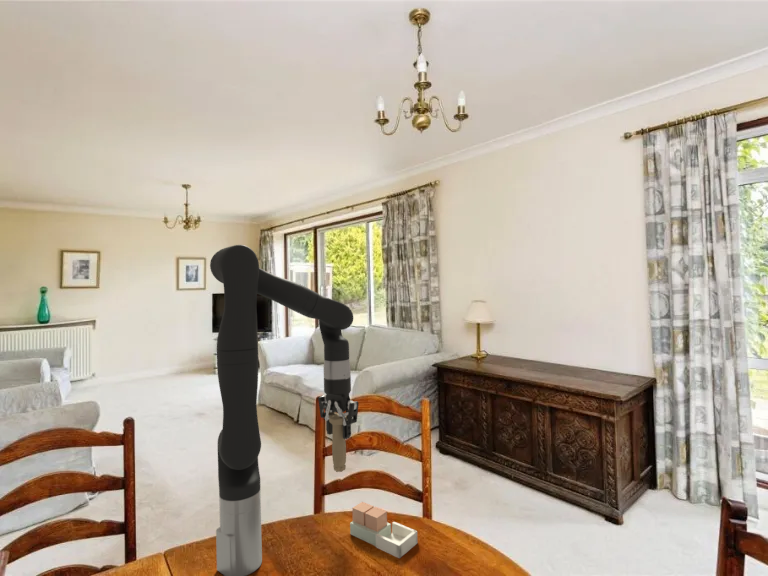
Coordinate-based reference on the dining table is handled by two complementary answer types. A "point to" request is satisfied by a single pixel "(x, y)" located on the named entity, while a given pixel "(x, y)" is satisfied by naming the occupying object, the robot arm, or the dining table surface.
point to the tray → (397, 540)
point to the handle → (338, 443)
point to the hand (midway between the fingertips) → (338, 435)
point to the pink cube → (361, 512)
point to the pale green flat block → (368, 532)
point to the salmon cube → (376, 519)
